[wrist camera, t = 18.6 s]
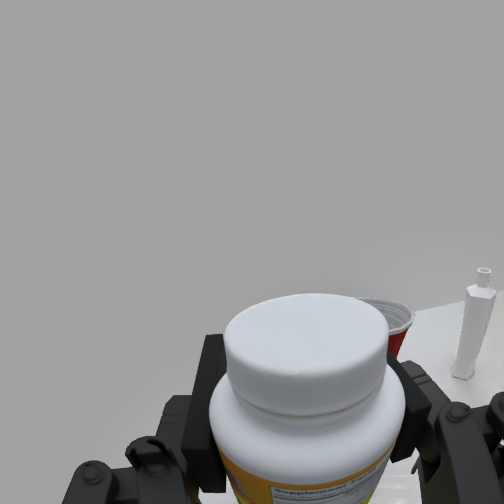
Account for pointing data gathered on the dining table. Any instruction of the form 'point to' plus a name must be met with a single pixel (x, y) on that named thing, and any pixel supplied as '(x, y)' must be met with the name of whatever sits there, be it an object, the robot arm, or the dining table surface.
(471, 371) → the perfume bottle
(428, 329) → the dining table surface
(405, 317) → the plastic cup
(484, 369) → the dining table surface
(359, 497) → the supplement bottle
